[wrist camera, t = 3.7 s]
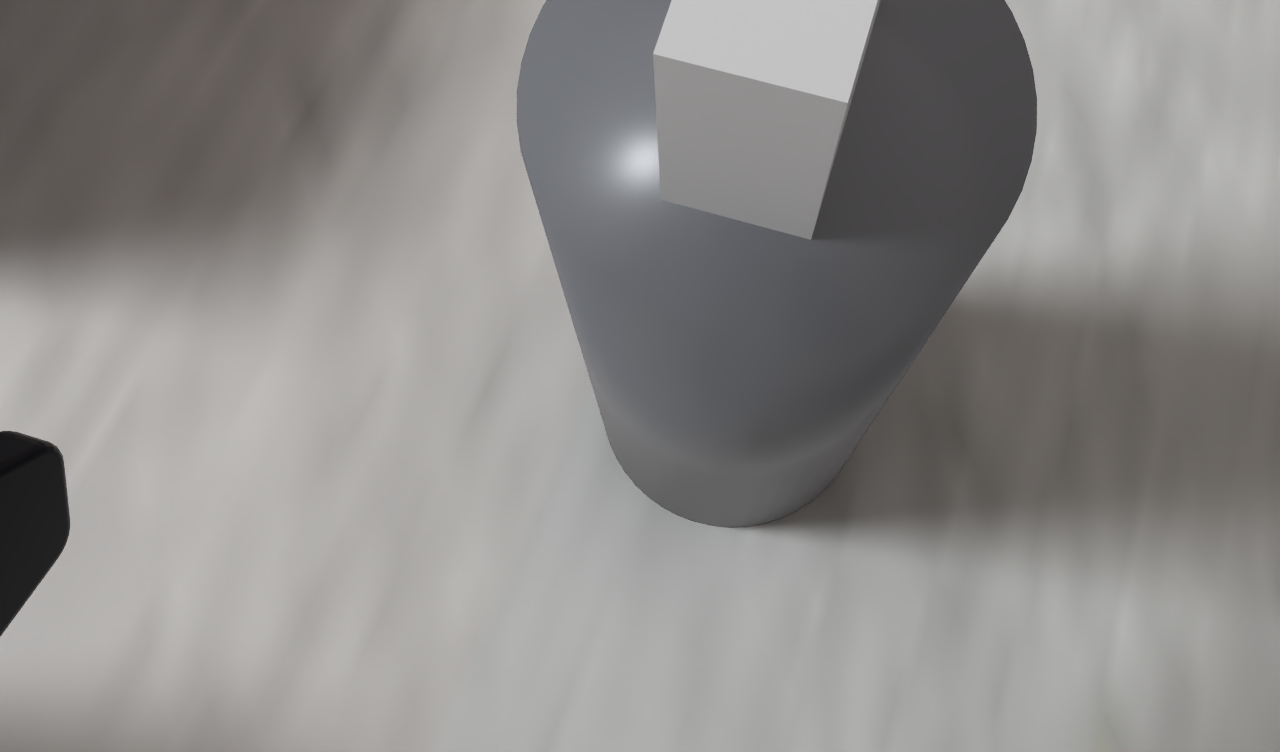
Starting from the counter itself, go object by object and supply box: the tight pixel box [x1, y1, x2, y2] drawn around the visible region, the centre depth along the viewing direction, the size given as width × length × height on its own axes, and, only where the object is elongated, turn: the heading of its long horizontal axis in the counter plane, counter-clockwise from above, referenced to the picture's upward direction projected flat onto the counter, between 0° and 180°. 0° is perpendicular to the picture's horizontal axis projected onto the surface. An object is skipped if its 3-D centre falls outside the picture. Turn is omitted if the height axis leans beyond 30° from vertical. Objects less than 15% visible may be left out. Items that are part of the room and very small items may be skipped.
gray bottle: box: [517, 0, 1037, 527], centre depth 15 cm, size 5×5×13 cm
